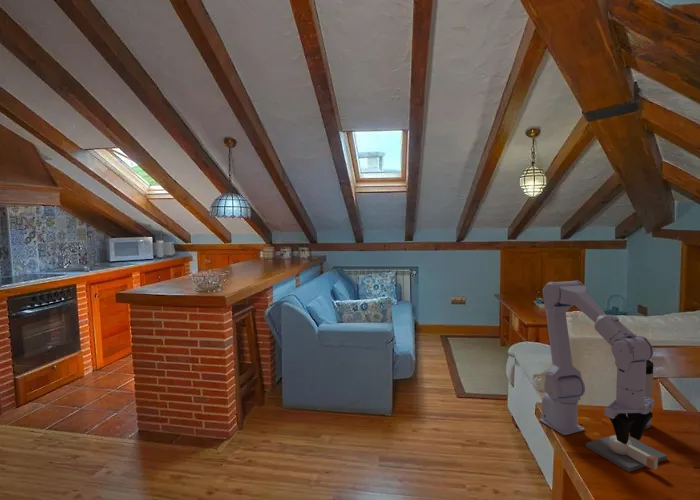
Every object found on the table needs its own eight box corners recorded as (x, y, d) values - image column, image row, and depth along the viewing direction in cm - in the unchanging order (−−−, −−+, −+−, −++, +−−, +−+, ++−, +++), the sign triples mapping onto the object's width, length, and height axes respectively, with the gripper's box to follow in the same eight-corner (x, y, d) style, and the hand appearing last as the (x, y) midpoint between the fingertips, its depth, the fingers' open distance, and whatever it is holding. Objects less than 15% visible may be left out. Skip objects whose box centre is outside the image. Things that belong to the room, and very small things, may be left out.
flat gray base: (585, 446, 111) (585, 443, 111) (621, 435, 116) (621, 432, 116) (628, 472, 100) (628, 468, 100) (666, 459, 105) (666, 455, 105)
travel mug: (642, 418, 126) (644, 355, 124) (656, 429, 119) (658, 363, 117) (620, 417, 126) (622, 355, 125) (633, 428, 120) (635, 363, 118)
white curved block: (604, 446, 109) (604, 437, 109) (617, 442, 110) (617, 434, 110) (648, 471, 98) (648, 461, 98) (662, 466, 100) (662, 457, 99)
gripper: (625, 398, 92) (623, 455, 93) (668, 387, 97) (666, 442, 98) (597, 386, 98) (595, 439, 100) (638, 377, 103) (636, 427, 104)
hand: (628, 439), depth 99 cm, fingers open, 4 cm apart
